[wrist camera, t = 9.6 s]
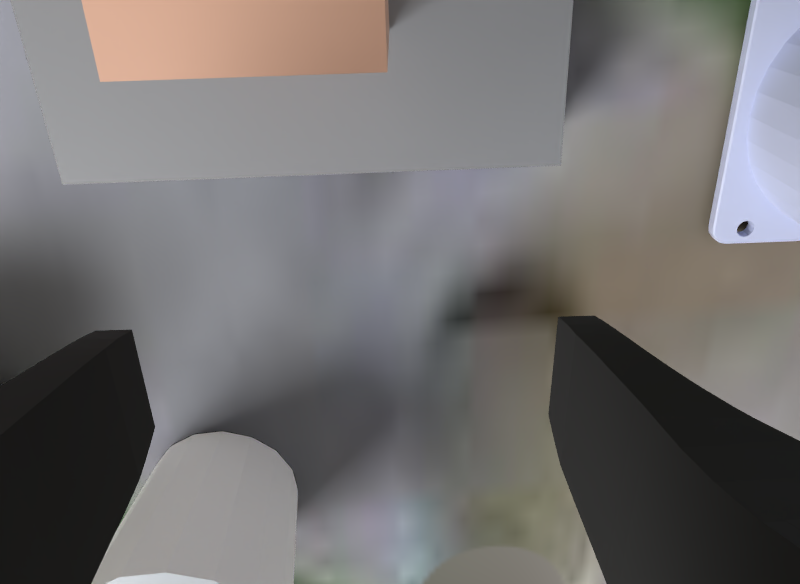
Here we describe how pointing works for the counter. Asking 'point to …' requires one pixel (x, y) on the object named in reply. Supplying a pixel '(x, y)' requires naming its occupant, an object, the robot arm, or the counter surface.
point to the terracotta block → (236, 38)
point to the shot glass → (209, 518)
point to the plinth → (316, 101)
